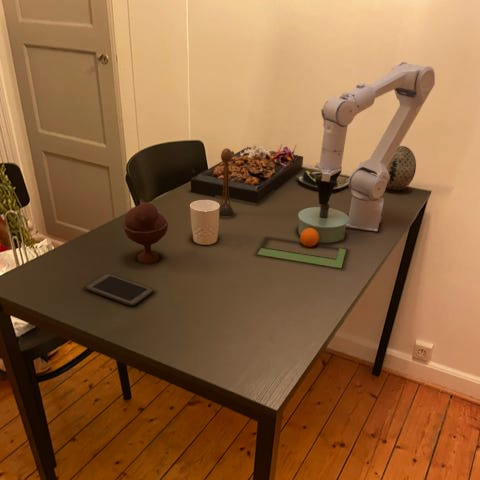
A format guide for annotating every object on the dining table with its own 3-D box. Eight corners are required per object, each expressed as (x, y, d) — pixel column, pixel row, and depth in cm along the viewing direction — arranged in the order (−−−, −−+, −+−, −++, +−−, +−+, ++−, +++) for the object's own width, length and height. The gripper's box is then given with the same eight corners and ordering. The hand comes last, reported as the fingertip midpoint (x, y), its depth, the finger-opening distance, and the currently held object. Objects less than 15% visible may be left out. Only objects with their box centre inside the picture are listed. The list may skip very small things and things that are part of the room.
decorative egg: (372, 190, 167) (380, 147, 158) (382, 181, 175) (391, 140, 166) (405, 197, 162) (415, 153, 153) (414, 188, 170) (424, 145, 162)
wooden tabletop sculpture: (225, 209, 148) (226, 144, 137) (237, 213, 146) (239, 147, 135) (214, 215, 144) (215, 148, 133) (227, 219, 142) (228, 151, 131)
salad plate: (321, 171, 183) (323, 159, 180) (360, 183, 173) (362, 171, 170) (289, 182, 172) (290, 169, 169) (328, 195, 161) (330, 182, 159)
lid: (350, 214, 137) (353, 198, 134) (345, 233, 126) (348, 217, 123) (302, 207, 140) (304, 192, 138) (293, 226, 129) (295, 210, 126)
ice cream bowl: (176, 252, 124) (173, 197, 115) (157, 271, 115) (152, 213, 106) (140, 245, 126) (135, 190, 118) (118, 263, 118) (111, 206, 109)
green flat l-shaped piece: (346, 250, 128) (346, 249, 127) (341, 268, 119) (341, 267, 119) (267, 238, 132) (267, 237, 132) (257, 255, 124) (257, 254, 123)
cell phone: (107, 275, 112) (107, 273, 112) (154, 292, 107) (153, 289, 106) (85, 289, 107) (84, 286, 107) (132, 307, 102) (132, 304, 101)
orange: (313, 252, 127) (319, 241, 130) (316, 239, 123) (322, 227, 126) (296, 246, 128) (302, 235, 131) (298, 233, 124) (305, 221, 127)
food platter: (245, 158, 194) (246, 132, 188) (302, 167, 186) (305, 140, 180) (190, 191, 161) (190, 161, 155) (256, 204, 152) (258, 173, 146)
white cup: (215, 247, 127) (215, 212, 121) (187, 244, 128) (186, 209, 122) (222, 235, 133) (222, 201, 127) (195, 232, 134) (194, 198, 128)
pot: (346, 228, 139) (349, 212, 137) (341, 247, 129) (344, 230, 126) (302, 222, 142) (304, 206, 139) (294, 240, 132) (295, 223, 129)
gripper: (321, 140, 128) (315, 189, 136) (312, 154, 117) (306, 206, 125) (347, 143, 127) (339, 192, 135) (341, 157, 115) (332, 210, 123)
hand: (325, 199), depth 129 cm, fingers open, 7 cm apart
